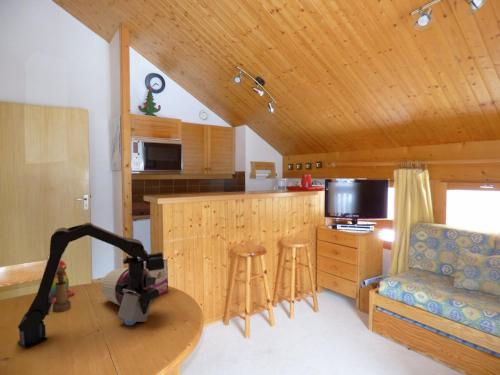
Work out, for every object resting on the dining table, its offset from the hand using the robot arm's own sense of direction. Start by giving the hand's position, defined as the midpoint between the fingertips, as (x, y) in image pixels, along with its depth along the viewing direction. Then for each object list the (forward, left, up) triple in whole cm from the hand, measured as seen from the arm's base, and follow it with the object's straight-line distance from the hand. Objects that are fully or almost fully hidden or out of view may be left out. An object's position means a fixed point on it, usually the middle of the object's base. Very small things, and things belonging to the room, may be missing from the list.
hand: (137, 311), depth 120 cm
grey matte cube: (-3, 0, -2) cm, 3 cm away
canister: (+9, +26, +3) cm, 28 cm away
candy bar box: (+21, +12, -4) cm, 25 cm away
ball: (-3, 0, -1) cm, 4 cm away
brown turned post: (-9, +36, -4) cm, 37 cm away
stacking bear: (-4, +48, -4) cm, 48 cm away
